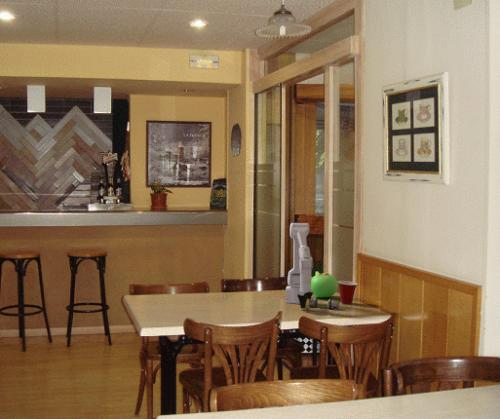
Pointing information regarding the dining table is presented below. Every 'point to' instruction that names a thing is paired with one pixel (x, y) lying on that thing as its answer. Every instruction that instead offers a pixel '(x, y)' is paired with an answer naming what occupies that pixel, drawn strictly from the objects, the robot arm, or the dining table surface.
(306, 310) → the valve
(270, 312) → the dining table surface
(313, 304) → the grey metal fittings
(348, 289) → the plastic cup
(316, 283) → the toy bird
